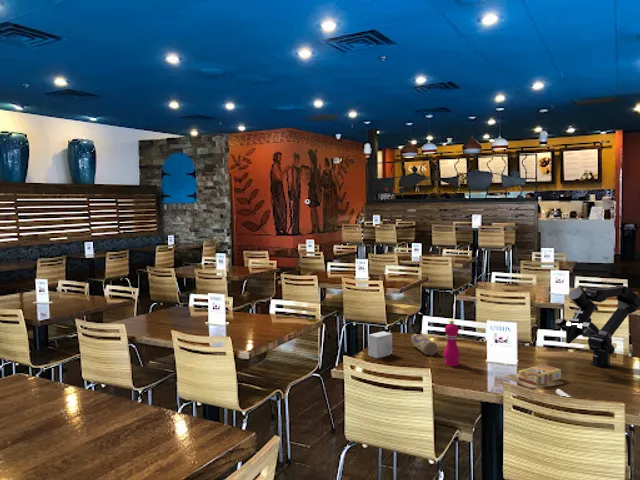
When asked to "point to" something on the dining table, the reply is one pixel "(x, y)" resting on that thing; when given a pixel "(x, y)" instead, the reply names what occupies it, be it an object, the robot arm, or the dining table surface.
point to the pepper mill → (451, 345)
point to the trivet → (528, 385)
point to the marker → (562, 393)
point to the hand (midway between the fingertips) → (567, 343)
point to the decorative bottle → (424, 344)
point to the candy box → (539, 374)
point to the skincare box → (380, 344)
